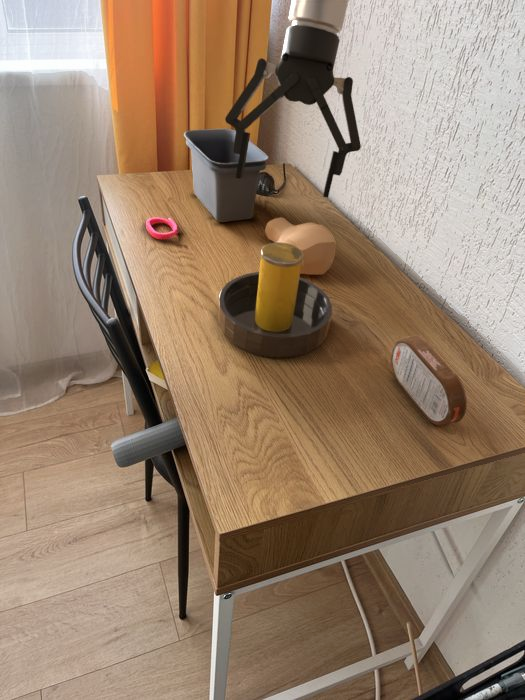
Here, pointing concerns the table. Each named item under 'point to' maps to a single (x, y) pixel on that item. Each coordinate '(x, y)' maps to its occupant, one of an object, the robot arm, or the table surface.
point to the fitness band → (161, 235)
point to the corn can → (278, 286)
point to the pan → (248, 336)
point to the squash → (305, 243)
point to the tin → (428, 381)
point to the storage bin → (224, 173)
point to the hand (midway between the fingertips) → (282, 187)
